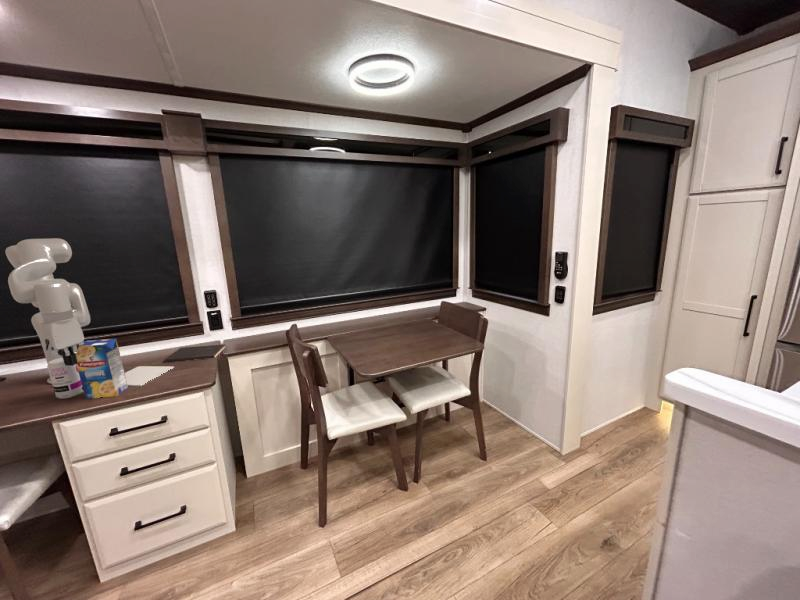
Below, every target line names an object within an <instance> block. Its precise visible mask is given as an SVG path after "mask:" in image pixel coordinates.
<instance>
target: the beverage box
mask: <svg viewBox="0 0 800 600" xmlns="http://www.w3.org/2000/svg"><path fill="white" fill-rule="evenodd" d="M83 342H84V344H83V345H81V346H79V347H78V349H77V353H75V354H76V357H77V362H78V364H76V365H77V369H78V372H79V376H80V379H81V383H82V387H83V390H84V391H83V393H84V398H85V399H86V400H90V399H89V398H92V399H101V398H100V397H103V398H110V397H111V398H112V397H113V396H114V397H118V396H120V395H121V394H122V393H123V392H125V391H126V390H127V389H129V386H128V385H127V381H126V377H125V373H126V371H125V368H124V366H123V361H122V356H121V352H120V348H119V344H118V339H117V338H107V339H104V338H103V339H94V340H93V339H92V340H89V339H88V340H84V341H83ZM124 390H125V391H124Z"/></svg>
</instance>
